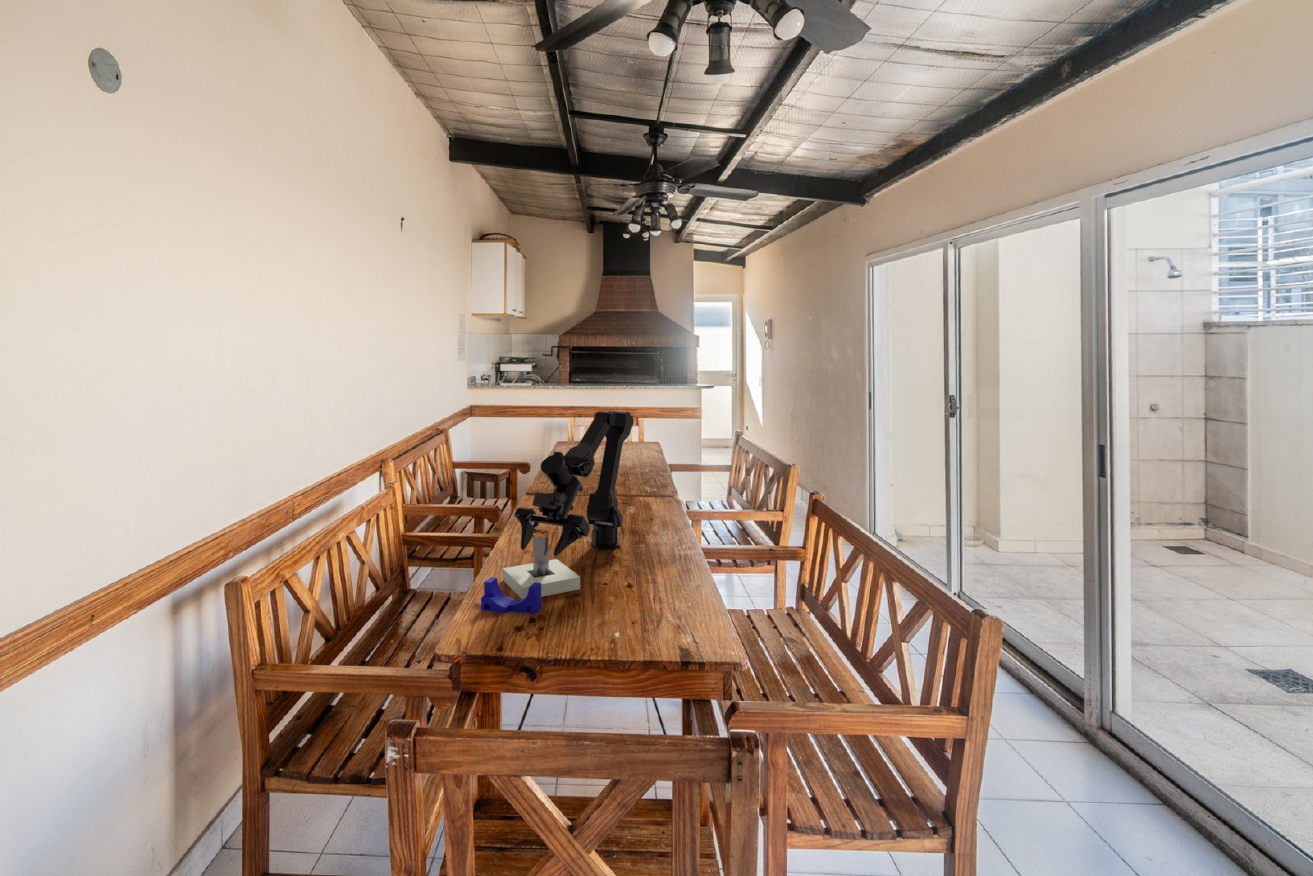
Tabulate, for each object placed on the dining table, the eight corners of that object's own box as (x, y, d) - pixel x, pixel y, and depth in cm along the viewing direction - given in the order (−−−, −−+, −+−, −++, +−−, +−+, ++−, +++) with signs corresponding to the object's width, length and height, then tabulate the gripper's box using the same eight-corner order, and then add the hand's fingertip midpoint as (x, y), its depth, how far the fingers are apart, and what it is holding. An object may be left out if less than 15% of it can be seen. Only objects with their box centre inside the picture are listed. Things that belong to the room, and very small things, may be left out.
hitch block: (556, 570, 162) (556, 559, 161) (580, 589, 150) (580, 576, 150) (503, 580, 154) (502, 568, 154) (523, 600, 143) (522, 587, 142)
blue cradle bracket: (481, 610, 137) (480, 584, 137) (491, 602, 142) (490, 577, 141) (532, 617, 135) (532, 590, 134) (541, 609, 139) (541, 583, 138)
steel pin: (548, 581, 154) (548, 529, 152) (548, 587, 151) (548, 534, 149) (533, 582, 154) (533, 530, 152) (533, 587, 150) (532, 534, 148)
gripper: (517, 474, 156) (490, 530, 148) (584, 482, 149) (559, 541, 140) (536, 499, 164) (511, 552, 156) (600, 507, 157) (577, 564, 149)
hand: (538, 552), depth 150 cm, fingers open, 9 cm apart
